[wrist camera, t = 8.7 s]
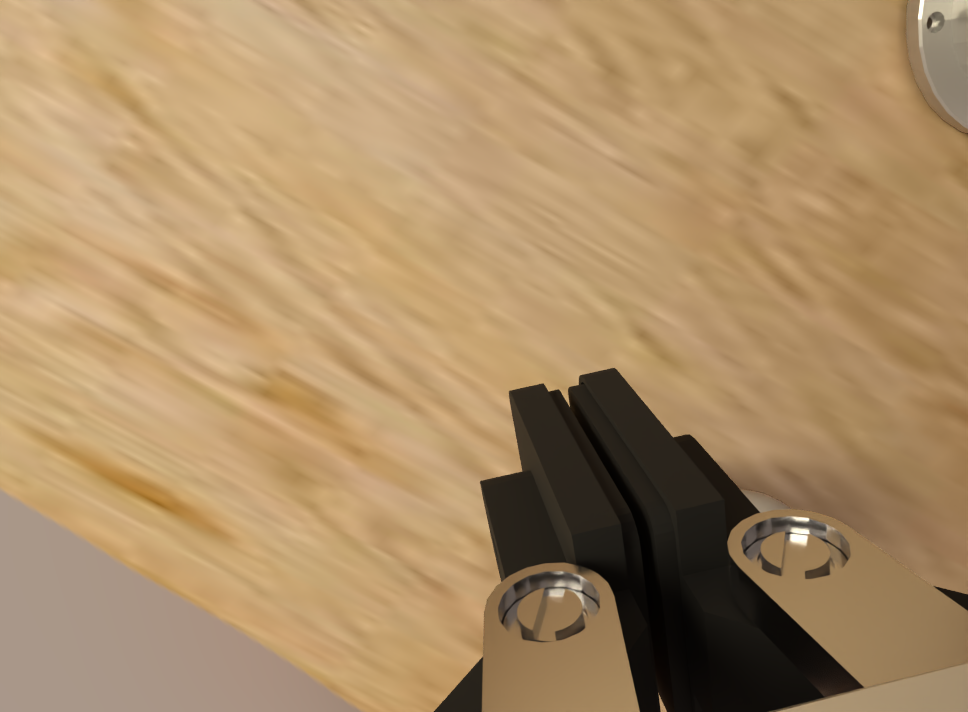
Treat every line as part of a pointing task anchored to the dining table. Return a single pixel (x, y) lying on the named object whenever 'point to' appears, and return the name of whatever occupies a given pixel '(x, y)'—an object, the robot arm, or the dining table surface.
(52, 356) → the dining table surface
